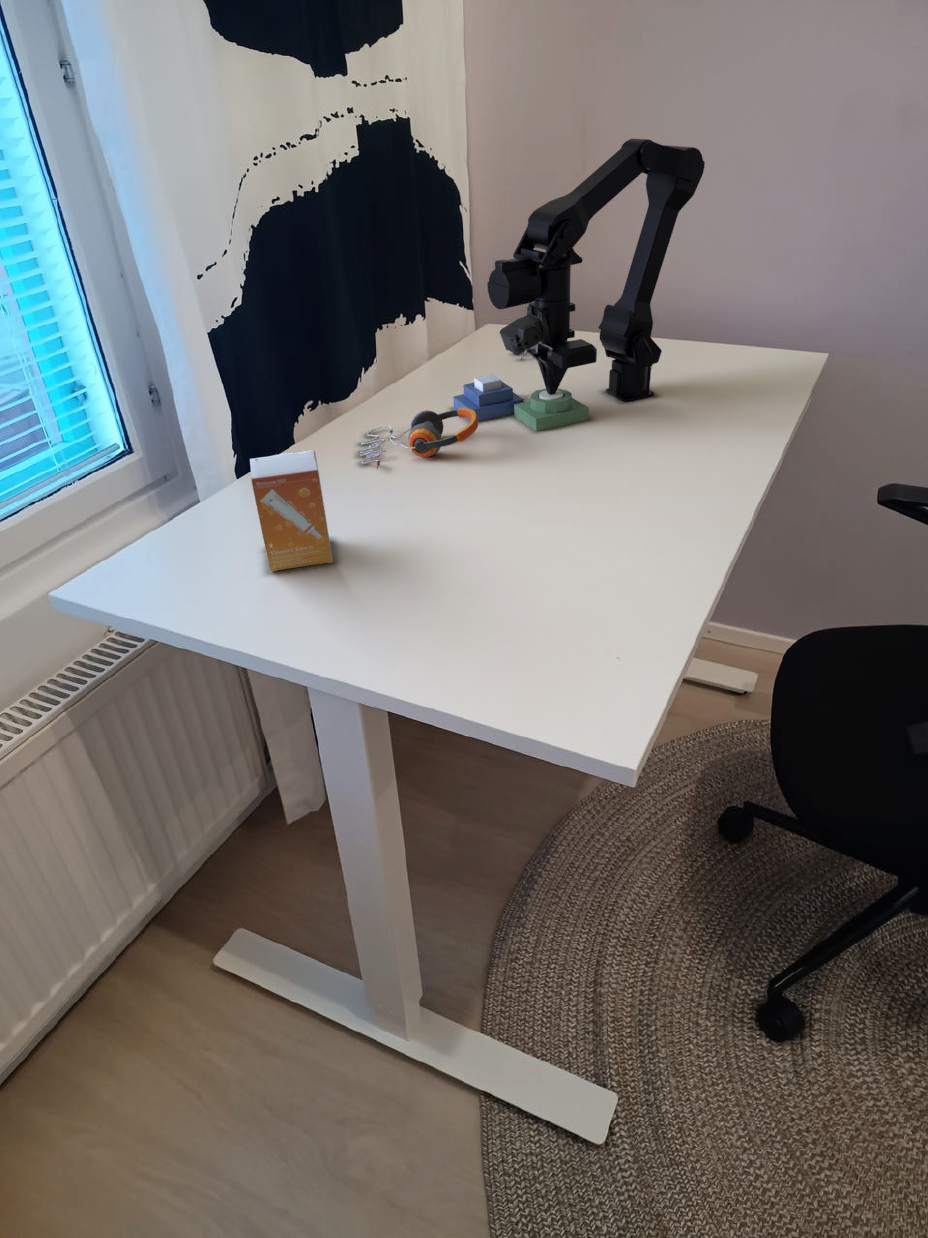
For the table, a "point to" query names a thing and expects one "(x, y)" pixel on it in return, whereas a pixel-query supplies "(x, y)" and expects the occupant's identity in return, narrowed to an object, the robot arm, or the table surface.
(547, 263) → the robot arm
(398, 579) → the table surface
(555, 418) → the green switch
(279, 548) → the small box
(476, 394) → the blue switch
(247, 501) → the table surface
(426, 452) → the headphones
